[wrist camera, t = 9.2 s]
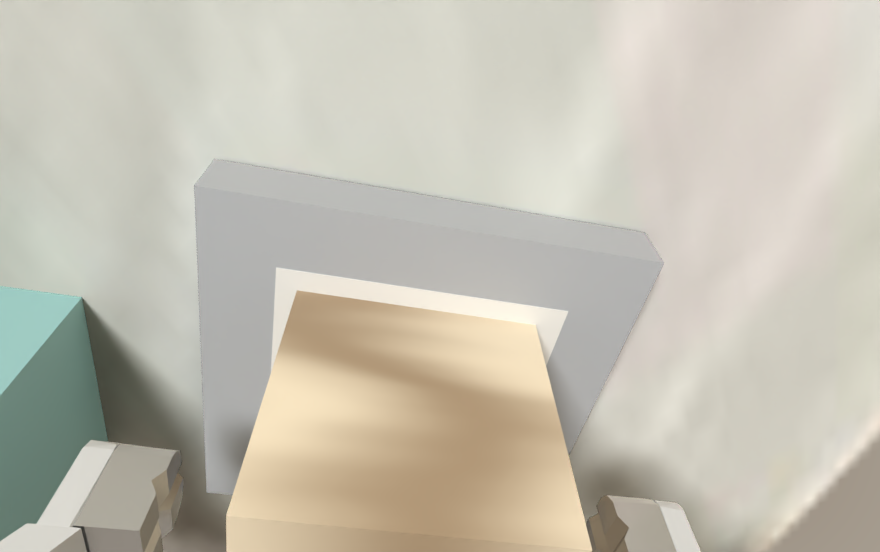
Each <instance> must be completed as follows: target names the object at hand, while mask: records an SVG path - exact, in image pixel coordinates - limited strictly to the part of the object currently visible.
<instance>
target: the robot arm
mask: <svg viewBox="0 0 880 552" xmlns="http://www.w3.org/2000/svg"><path fill="white" fill-rule="evenodd" d="M181 463H182V459H181V451H178V450H170V449H162V448H154V447H146V446H138V445H130V444H122V443H115V442H106V441H97V440H90V441H89V442H88V443H87V444H86V445H85V446H84V447H83V448H82V449H81V451H80V453H79V454H78V456H77V458H76V459H75V461H74V463H73V464H72V466H71V468H70V469H69V471H68V472H67V474H66V476H65V477H64V479H63V481H62V482H61V484H60V486H59V487H58V489H57V491H56V492H55V494H54V496H53V497H52V499H51V500H50V502H49V504H48V505H47V507H46V509H45V510H44V512H43V514H42V515H41V517H40V519H39V520H38V522H37V523H36V524H35V523H26V524H25V525H23V526H22V527H20V528H19V529H17V530H16V531H15V532H13V533H12V534H10V535H9V536H7V537H6V538H4V539H3V540H1V541H0V552H163V545H162V538H163V537H164V536H165V535H167V534H168V533H169V532H170V531H172V530H173V527H174V525H175V522H176V519H177V517H178V514H179V510H180V506H181V502H182V497H183V487H184V485H183V477H182V476H181V475H180V474H179V473H178V471H179V468H180V466H181ZM597 509H598V514H596V515H595V516H593V517H591V518H589V519H588V521H587V523H586V527H587V531H588V535H589V539H590V543H591V547H592V552H701V550H700V548H699V545H698V543H697V541H696V538H695V536H694V534H693V531H692V529H691V527H690V524H689V522H688V519H687V517H686V515H685V512H684V510H683V508H682V507H681V506H680V505H679V504H678V503H676V502H668V501H656V500H651V499H644V498H633V497H622V496H611V495H606V496H604V497H602V498H601V499H600V500H599V502H598V504H597Z"/></svg>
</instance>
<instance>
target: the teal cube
mask: <svg viewBox="0 0 880 552" xmlns="http://www.w3.org/2000/svg"><path fill="white" fill-rule="evenodd" d="M90 440H97V441H106V442H108V438H107V433H106V427H105V422H104V416H103V411H102V405H101V400H100V394H99V389H98V383H97V378H96V372H95V367H94V361H93V356H92V350H91V345H90V339H89V334H88V328H87V323H86V317H85V312H84V306H83V301H82V297H76V296H69V295H62V294H54V293H47V292H40V291H32V290H25V289H18V288H10V287H3V286H0V541H1V540H3V539H4V538H6V537H7V536H9V535H10V534H12V533H13V532H15V531H16V530H17V529H19V528H20V527H22V526H23V525H25V524H26V523H35V524H36V523H37V522H38V520H39V519H40V517H41V515H42V514H43V512H44V510H45V509H46V507H47V505H48V504H49V502H50V500H51V499H52V497H53V496H54V494H55V492H56V491H57V489H58V487H59V486H60V484H61V482H62V481H63V479H64V477H65V476H66V474H67V472H68V471H69V469H70V468H71V466H72V464H73V463H74V461H75V459H76V458H77V456H78V454H79V453H80V451H81V449H82V448H83V447H84V446H85V445H86V444H87V443H88V442H89V441H90Z"/></svg>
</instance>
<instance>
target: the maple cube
mask: <svg viewBox="0 0 880 552" xmlns="http://www.w3.org/2000/svg"><path fill="white" fill-rule="evenodd" d="M226 552H592V547H591V543H590V539H589V535H588V531H587V527H586V523H585V519H584V515H583V511H582V507H581V503H580V499H579V495H578V491H577V487H576V483H575V479H574V475H573V471H572V467H571V463H570V459H569V455H568V451H567V448H566V444H565V440H564V436H563V432H562V428H561V424H560V420H559V416H558V412H557V408H556V404H555V400H554V396H553V392H552V388H551V384H550V380H549V376H548V372H547V368H546V364H545V360H544V356H543V352H542V348H541V344H540V340H539V336H538V332H537V328H536V325H532V324H525V323H518V322H511V321H504V320H497V319H491V318H484V317H477V316H470V315H463V314H456V313H449V312H442V311H436V310H429V309H422V308H415V307H408V306H401V305H394V304H388V303H381V302H374V301H367V300H360V299H353V298H346V297H339V296H333V295H326V294H319V293H312V292H305V291H298V290H297V291H296V295H295V298H294V301H293V304H292V307H291V310H290V314H289V317H288V320H287V323H286V326H285V330H284V333H283V336H282V339H281V342H280V346H279V349H278V352H277V355H276V358H275V361H274V365H273V368H272V371H271V374H270V377H269V381H268V384H267V387H266V390H265V393H264V397H263V400H262V403H261V406H260V409H259V412H258V416H257V419H256V422H255V425H254V428H253V432H252V435H251V438H250V441H249V444H248V448H247V451H246V454H245V457H244V460H243V463H242V467H241V470H240V473H239V476H238V479H237V483H236V486H235V489H234V492H233V495H232V499H231V502H230V505H229V508H228V511H227V514H226Z"/></svg>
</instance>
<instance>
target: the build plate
mask: <svg viewBox="0 0 880 552" xmlns="http://www.w3.org/2000/svg"><path fill="white" fill-rule="evenodd" d="M194 194H195V219H196V244H197V268H198V293H199V318H200V342H201V367H202V392H203V416H204V441H205V466H206V490H207V493H215V494H225V495H233V492H234V489H235V486H236V483H237V479H238V476H239V473H240V470H241V467H242V463H243V460H244V457H245V454H246V451H247V448H248V444H249V441H250V438H251V435H252V432H253V428H254V425H255V422H256V419H257V416H258V412H259V409H260V406H261V403H262V400H263V397H264V393H265V390H266V387H267V384H268V381H269V377H270V374H271V371H272V368H273V365H274V361H275V358H276V355H277V352H278V349H279V346H280V342H281V339H282V336H283V333H284V330H285V326H286V323H287V320H288V317H289V314H290V310H291V307H292V304H293V301H294V298H295V295H296V291H297V290H298V291H305V292H312V293H319V294H326V295H333V296H339V297H346V298H353V299H360V300H367V301H374V302H381V303H388V304H394V305H401V306H408V307H415V308H422V309H429V310H436V311H442V312H449V313H456V314H463V315H470V316H477V317H484V318H491V319H497V320H504V321H511V322H518V323H525V324H532V325H536V328H537V332H538V336H539V340H540V344H541V348H542V352H543V356H544V360H545V364H546V368H547V372H548V376H549V380H550V384H551V388H552V392H553V396H554V400H555V404H556V408H557V412H558V416H559V420H560V424H561V428H562V432H563V436H564V440H565V444H566V448H567V451H568V455H569V454H570V452H571V450H572V448H573V446H574V444H575V442H576V440H577V438H578V436H579V434H580V432H581V430H582V428H583V426H584V424H585V422H586V420H587V418H588V416H589V414H590V412H591V410H592V408H593V406H594V404H595V402H596V400H597V398H598V396H599V394H600V392H601V390H602V388H603V386H604V384H605V382H606V380H607V378H608V376H609V374H610V371H611V369H612V367H613V365H614V363H615V361H616V359H617V357H618V355H619V353H620V351H621V349H622V347H623V345H624V343H625V341H626V339H627V337H628V335H629V333H630V331H631V329H632V327H633V325H634V323H635V321H636V319H637V317H638V315H639V313H640V311H641V309H642V307H643V305H644V303H645V301H646V299H647V297H648V295H649V293H650V291H651V289H652V287H653V285H654V283H655V281H656V279H657V277H658V275H659V273H660V271H661V269H662V267H663V265H664V262H663V260H662V258H661V257H660V255H659V254H658V252H657V251H656V249H655V247H654V246H653V244H652V243H651V241H650V239H649V238H648V236H647V235H646V233H644V232H639V231H633V230H627V229H621V228H615V227H609V226H604V225H598V224H592V223H586V222H580V221H574V220H569V219H563V218H557V217H551V216H545V215H539V214H534V213H528V212H522V211H516V210H510V209H504V208H498V207H493V206H487V205H481V204H475V203H469V202H463V201H458V200H452V199H446V198H440V197H434V196H428V195H423V194H417V193H411V192H405V191H399V190H393V189H388V188H382V187H376V186H370V185H364V184H358V183H353V182H347V181H341V180H335V179H329V178H323V177H318V176H312V175H306V174H300V173H294V172H288V171H283V170H277V169H271V168H265V167H259V166H253V165H248V164H242V163H236V162H230V161H224V160H218V159H214V160H213V161H212V163H211V164H210V165H209V167H208V168H207V169H206V171H205V172H204V173H203V174H202V176H201V177H200V178H199V180H198V181H197V182H196V184H195V185H194Z"/></svg>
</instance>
